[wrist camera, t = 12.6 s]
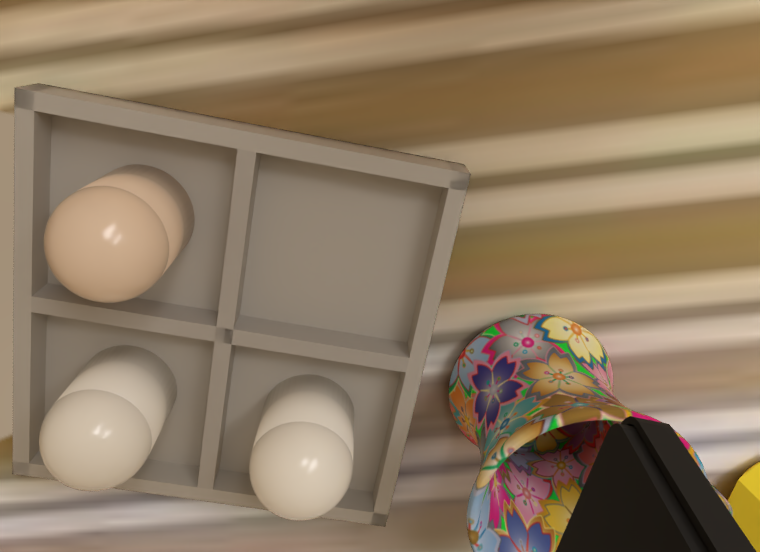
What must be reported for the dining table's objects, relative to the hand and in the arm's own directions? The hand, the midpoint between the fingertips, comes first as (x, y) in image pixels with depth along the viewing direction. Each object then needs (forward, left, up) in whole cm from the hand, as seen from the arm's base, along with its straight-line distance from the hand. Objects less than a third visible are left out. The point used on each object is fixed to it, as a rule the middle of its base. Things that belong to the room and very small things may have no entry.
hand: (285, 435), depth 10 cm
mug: (+10, +13, -23) cm, 28 cm away
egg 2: (+14, +1, -22) cm, 26 cm away
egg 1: (+4, -9, -22) cm, 24 cm away
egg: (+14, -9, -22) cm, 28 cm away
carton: (+9, -4, -23) cm, 25 cm away
